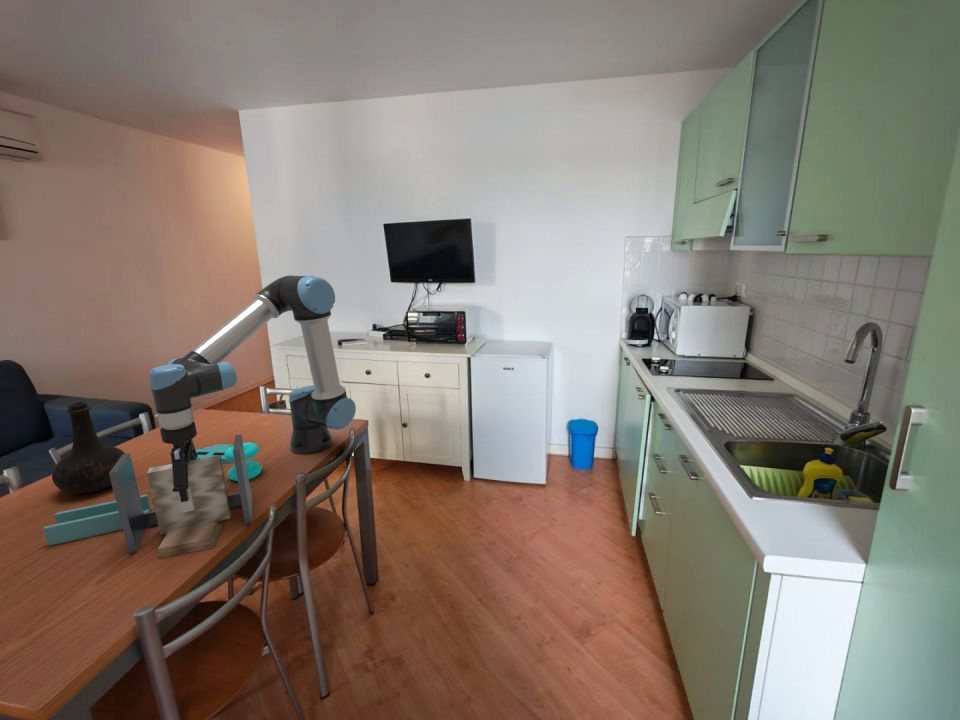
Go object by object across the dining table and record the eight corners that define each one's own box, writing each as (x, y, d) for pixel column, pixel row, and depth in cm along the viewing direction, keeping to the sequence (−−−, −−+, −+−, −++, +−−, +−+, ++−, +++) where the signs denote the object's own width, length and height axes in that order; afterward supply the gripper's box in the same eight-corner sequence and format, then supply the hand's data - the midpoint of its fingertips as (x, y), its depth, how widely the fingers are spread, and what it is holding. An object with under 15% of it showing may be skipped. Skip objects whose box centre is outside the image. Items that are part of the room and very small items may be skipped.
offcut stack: (222, 529, 116) (221, 519, 115) (214, 549, 108) (212, 539, 108) (171, 538, 113) (169, 528, 112) (158, 560, 105) (156, 549, 104)
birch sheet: (230, 512, 123) (220, 455, 118) (230, 518, 120) (219, 459, 116) (163, 528, 116) (149, 468, 112) (160, 534, 113) (146, 473, 109)
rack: (252, 501, 128) (241, 433, 123) (251, 523, 118) (239, 449, 112) (141, 526, 117) (123, 452, 111) (128, 553, 106) (108, 473, 101)
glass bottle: (42, 505, 127) (16, 417, 121) (81, 476, 144) (60, 397, 138) (112, 497, 131) (91, 411, 125) (142, 469, 148) (125, 392, 141)
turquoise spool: (251, 438, 148) (263, 446, 141) (255, 464, 151) (267, 474, 144) (219, 448, 141) (230, 457, 134) (224, 475, 143) (235, 486, 137)
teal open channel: (151, 509, 125) (147, 494, 124) (144, 524, 118) (140, 508, 117) (61, 528, 116) (56, 512, 115) (48, 546, 110) (43, 528, 108)
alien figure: (213, 477, 143) (250, 450, 163) (212, 471, 143) (249, 445, 162) (158, 475, 145) (201, 448, 165) (157, 469, 145) (200, 443, 164)
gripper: (169, 411, 120) (183, 479, 125) (148, 446, 98) (165, 527, 104) (200, 407, 123) (213, 474, 129) (186, 439, 102) (202, 518, 107)
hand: (191, 497), depth 116 cm, fingers open, 13 cm apart
